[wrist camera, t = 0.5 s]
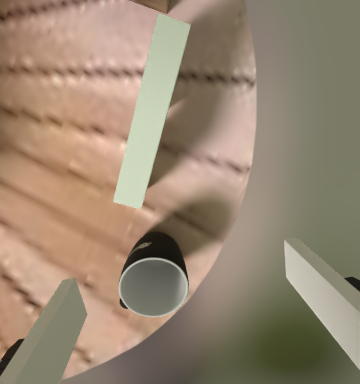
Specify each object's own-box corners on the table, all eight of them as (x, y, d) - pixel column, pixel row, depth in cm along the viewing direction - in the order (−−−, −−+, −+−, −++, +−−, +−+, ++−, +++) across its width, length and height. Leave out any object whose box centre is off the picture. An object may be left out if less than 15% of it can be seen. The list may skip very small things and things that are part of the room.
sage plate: (128, 184, 37) (110, 210, 26) (163, 44, 33) (161, 0, 21) (147, 189, 38) (138, 217, 26) (184, 51, 33) (194, 12, 21)
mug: (154, 213, 39) (150, 243, 29) (194, 247, 41) (203, 285, 31) (107, 263, 41) (88, 307, 31) (147, 293, 43) (141, 343, 33)
